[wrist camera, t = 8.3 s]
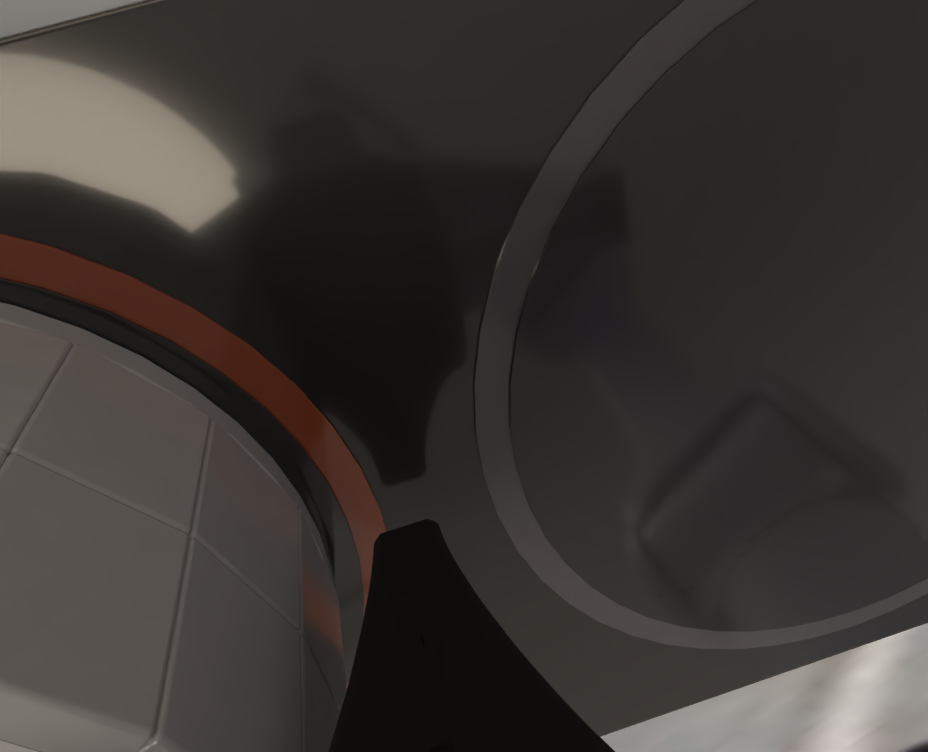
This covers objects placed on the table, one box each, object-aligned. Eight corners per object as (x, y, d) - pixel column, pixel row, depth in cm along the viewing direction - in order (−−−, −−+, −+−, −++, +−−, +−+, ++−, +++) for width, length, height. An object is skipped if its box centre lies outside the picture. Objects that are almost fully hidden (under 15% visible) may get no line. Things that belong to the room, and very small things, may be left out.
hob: (1109, 533, 16) (1142, 554, 15) (-247, 1000, 14) (-271, 1045, 13) (1344, -314, 9) (1421, -336, 9) (-1265, 372, 7) (-1410, 409, 7)
